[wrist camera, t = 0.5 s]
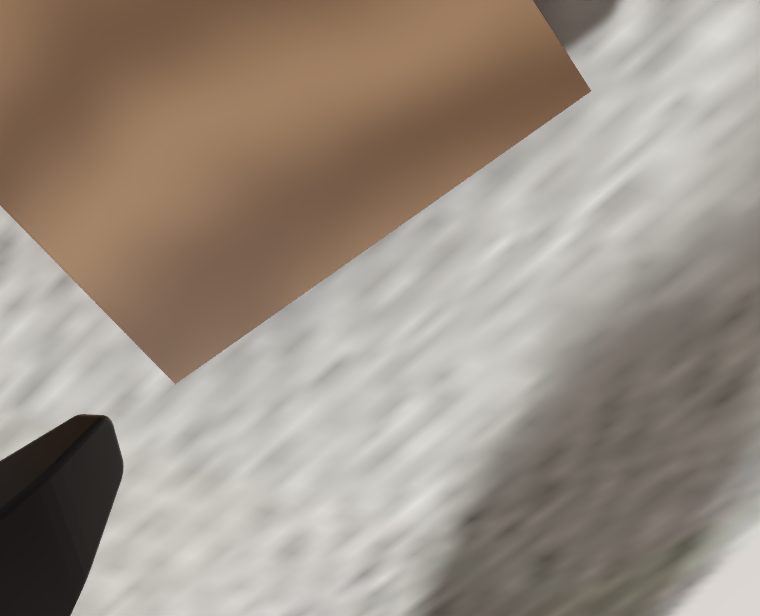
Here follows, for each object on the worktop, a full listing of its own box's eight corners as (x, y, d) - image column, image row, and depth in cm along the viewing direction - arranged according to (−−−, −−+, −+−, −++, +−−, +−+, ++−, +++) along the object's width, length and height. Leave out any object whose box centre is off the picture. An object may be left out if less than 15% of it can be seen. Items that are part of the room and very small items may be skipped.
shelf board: (580, 80, 21) (590, 91, 19) (195, 355, 26) (175, 383, 24) (202, -508, 16) (170, -568, 14) (-169, -27, 21) (-226, -26, 20)
